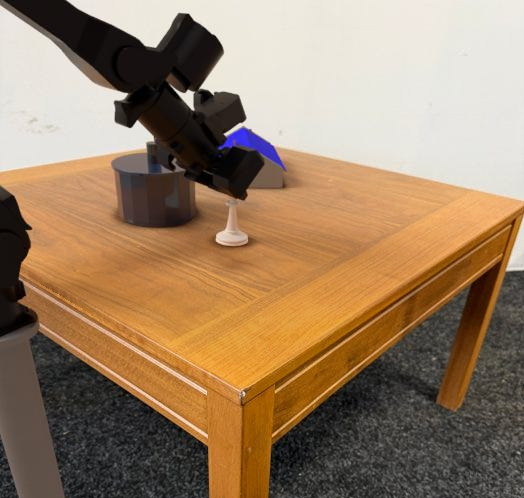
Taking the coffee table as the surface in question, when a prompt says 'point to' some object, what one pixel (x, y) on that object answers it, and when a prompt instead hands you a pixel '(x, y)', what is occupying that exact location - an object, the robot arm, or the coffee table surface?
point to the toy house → (273, 165)
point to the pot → (155, 200)
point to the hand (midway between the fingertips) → (240, 195)
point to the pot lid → (144, 164)
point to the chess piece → (232, 228)
